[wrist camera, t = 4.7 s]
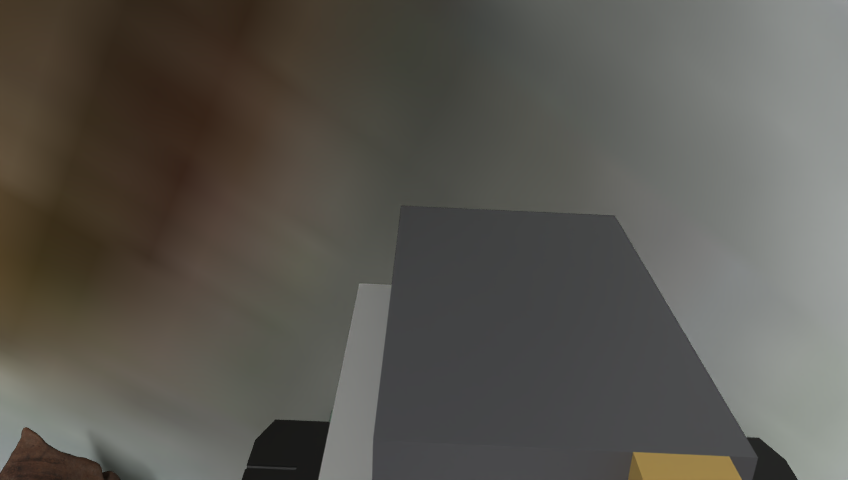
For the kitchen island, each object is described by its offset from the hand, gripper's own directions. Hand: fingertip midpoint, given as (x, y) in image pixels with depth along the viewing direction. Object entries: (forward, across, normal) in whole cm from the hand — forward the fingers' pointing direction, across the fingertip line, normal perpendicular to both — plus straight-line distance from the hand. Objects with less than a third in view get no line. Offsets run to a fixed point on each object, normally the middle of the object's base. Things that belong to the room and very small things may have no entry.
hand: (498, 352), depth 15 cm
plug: (0, 0, 0) cm, 0 cm away
